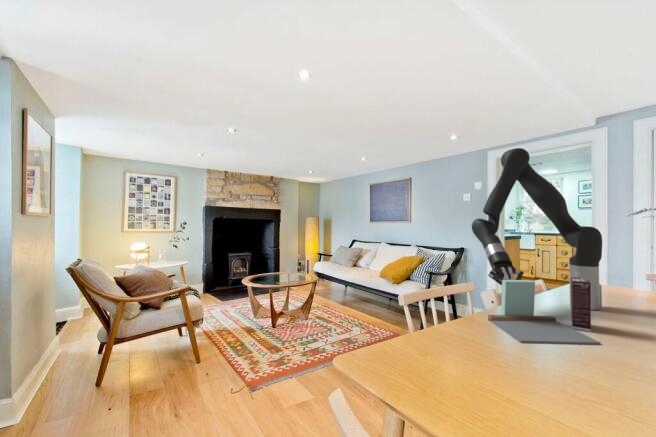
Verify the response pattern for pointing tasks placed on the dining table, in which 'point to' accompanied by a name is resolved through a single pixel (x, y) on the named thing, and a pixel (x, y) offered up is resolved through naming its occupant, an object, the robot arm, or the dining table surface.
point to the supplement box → (581, 304)
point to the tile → (518, 297)
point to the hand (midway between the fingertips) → (514, 293)
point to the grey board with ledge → (539, 330)
